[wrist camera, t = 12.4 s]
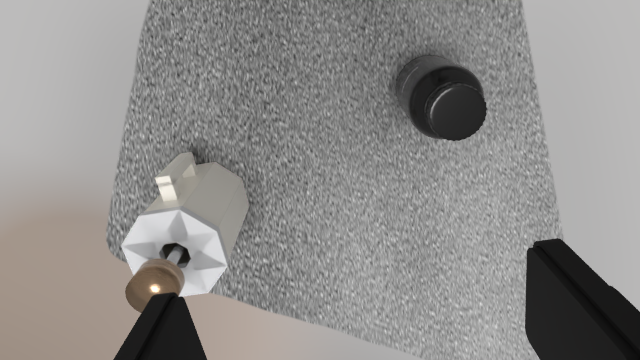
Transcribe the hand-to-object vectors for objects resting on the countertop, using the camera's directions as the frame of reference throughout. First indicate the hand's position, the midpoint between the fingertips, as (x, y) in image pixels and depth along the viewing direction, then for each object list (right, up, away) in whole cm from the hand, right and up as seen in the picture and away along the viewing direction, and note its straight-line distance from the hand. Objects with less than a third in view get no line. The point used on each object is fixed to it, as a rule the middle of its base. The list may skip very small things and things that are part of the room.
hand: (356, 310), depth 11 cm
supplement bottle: (+11, +14, +34) cm, 38 cm away
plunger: (-15, +1, +38) cm, 41 cm away
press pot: (-15, +2, +38) cm, 41 cm away
